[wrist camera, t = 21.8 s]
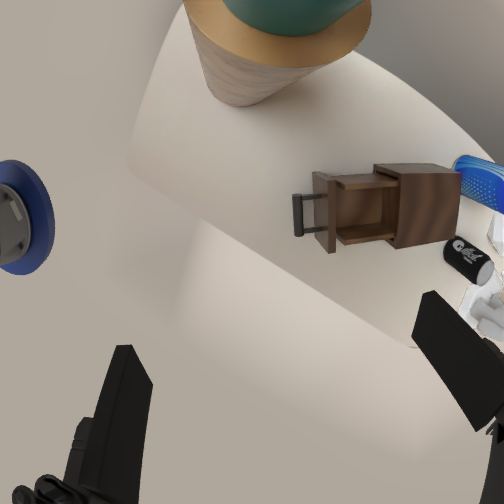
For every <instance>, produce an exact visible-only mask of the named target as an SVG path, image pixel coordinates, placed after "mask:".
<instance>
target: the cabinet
mask: <svg viewBox="0 0 504 504" xmlns="http://www.w3.org/2000/svg"><path fill="white" fill-rule="evenodd" d="M382 173H384V174H387V175H390V176H392V177H395V178H397V179H398V191H397V209H396V222H395V234H394V238H390V239H384V240H385V241H386V242H388V243H389V244H390V245H391V246H392V247H394V248H395V249H401V248H407V247H412V246H418V245H423V244H428V243H434V242H439V241H445V240H450V239H454V238H455V232H456V226H457V219H458V212H459V204H460V195H461V184H462V173H460V172H457V171H454V170H451V169H448V168H445V167H442V166H439V165H435V164H420V163H400V164H374V174H382Z"/></svg>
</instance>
